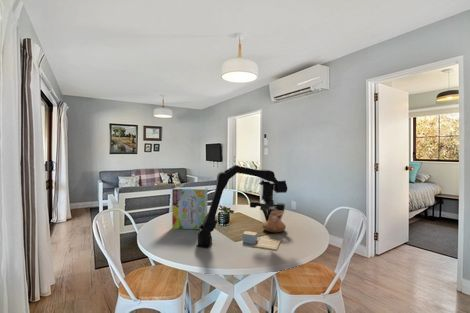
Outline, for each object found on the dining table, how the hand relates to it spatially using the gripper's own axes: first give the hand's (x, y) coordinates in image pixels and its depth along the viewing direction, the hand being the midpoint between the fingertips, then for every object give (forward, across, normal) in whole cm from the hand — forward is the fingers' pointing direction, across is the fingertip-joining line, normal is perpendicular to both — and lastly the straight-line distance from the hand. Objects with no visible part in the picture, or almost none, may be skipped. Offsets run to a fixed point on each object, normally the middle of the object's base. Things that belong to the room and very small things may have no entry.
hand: (267, 220), depth 135 cm
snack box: (+12, -52, +6) cm, 53 cm away
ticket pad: (+12, +1, -3) cm, 12 cm away
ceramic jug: (+12, 0, +21) cm, 24 cm away
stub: (+12, -9, -3) cm, 15 cm away
